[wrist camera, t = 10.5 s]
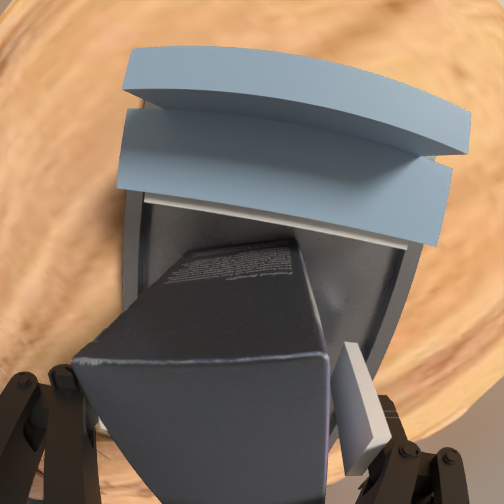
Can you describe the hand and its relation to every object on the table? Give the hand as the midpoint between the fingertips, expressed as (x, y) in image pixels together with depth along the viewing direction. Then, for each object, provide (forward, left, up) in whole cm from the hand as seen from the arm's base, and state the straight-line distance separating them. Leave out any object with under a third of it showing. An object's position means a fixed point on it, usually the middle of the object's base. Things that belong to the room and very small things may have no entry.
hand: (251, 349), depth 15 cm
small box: (0, 0, -2) cm, 2 cm away
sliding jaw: (0, +9, -2) cm, 10 cm away
